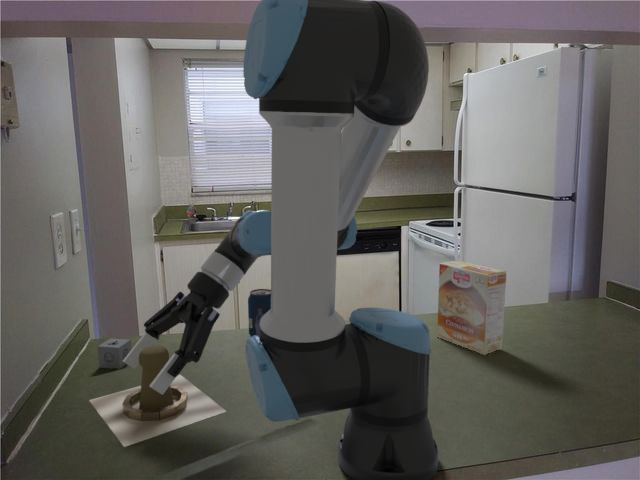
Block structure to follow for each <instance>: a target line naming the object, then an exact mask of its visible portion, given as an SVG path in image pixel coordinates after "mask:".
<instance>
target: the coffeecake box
mask: <svg viewBox="0 0 640 480" xmlns="http://www.w3.org/2000/svg"><path fill="white" fill-rule="evenodd" d="M438 277H439V278H438V301H437V303H438V304H437V327H436V328H437V331H436V338H437V337H439V338H438V339H440V338H442V339H444V340H443V341H445V340H447V341H450V342H452V343H451V344H453V343H455V344H457V345H456V346H458V345H460V346H462V347H461V348H463V347H465V348H468V349H470V350H473V351H476V352H479V353H481V354H486V353H489V352H493V351H496V350H499V349H502V350H503V340H504V337H503V336H504V324H505V323H504V320H505V319H504V318H505V306H506V305H505V303H506V301H505V300H506V287H507V270H503V269H497V268H493V267H490V266H485V265H484V266H483V265H480V264H475V263H471V262H467V261H462V260H459V259H458V260H453V261H443V262H440V263H439V275H438ZM442 339H441V340H442ZM447 341H446V342H447ZM450 342H449V343H450ZM455 344H454V345H455ZM460 346H459V347H460ZM465 348H464V349H465ZM468 349H467V350H468ZM470 350H469V351H470ZM473 351H472V352H473ZM476 352H475V353H476ZM493 353H494V352H493ZM481 354H480V355H481Z"/></svg>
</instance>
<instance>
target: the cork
mask: <svg viewBox="0 0 640 480" xmlns="http://www.w3.org/2000/svg"><path fill="white" fill-rule="evenodd" d="M169 355H170V353H169V350H168V349H167V347H165V346H162V345H153V346H150V347H146V348H144V349H143V350H142V351H141V352H140V354H139V365H140V367H141V368H142V370H141V371H142V372H141V382H140V386H141V393H140V405H139V409H140V410H158V409H162V408H165V407H168V406H171V405H173V404H174V402H173V397H172V392H171V386H169V387H168V389H167V390H166V391H165V393H164V394H163V395H162V394H160V393H159V392H157V391H156V390H154V389H152V388H151V387H150V384H151V383H152V382H153V380H154V379H155V378H156V376H157V375H158V374H159V372H160V371H161V370H162V368H163V367H164V366H165V365H166V363H167V362H168V361H169V359H170V356H169Z"/></svg>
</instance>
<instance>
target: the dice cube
mask: <svg viewBox="0 0 640 480" xmlns="http://www.w3.org/2000/svg"><path fill="white" fill-rule="evenodd" d="M131 350H132V341H131V339H124V338H108V339H107V340H106V341H104V342H101V344H99V345H98V346H97V354H98V355H97V356H98V367H100V368H101V369H113V368H117V369H116V370H121V369H123V368H124V367H125V366H126V365H127V364H126V363H125V362H123V360H124V358H125V357H126V356H127V355H128V353H129V352H130V351H131Z"/></svg>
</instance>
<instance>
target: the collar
mask: <svg viewBox="0 0 640 480" xmlns="http://www.w3.org/2000/svg"><path fill="white" fill-rule="evenodd" d="M170 386H171V392H172V395H174V396H177V397H179V398H180V400H179V401H177V402H176V403H174V404H173V405H171V406H168V407H165V408H162V409H158V410H140V409H135V408H133V407H132V406H131V405H132V404H133V403H135V402H136V401H138V400H140V393H141V389H138V390H136V391H134V392H132V393H131V394H129V395H128V396H126V397H125V400H124V402H123V404H122V405H123V413H124V414H125V415H126V416H127V417H128V418H129V419H133V420H137V421H156V420H162V419H165V418H168V417H171V416H174V415H177V414H178V413H179V412H181V411H182V410H183V409H185V408H186V406H187V402H188V392H187V391H186V390H184V389H183V388H182V387H180V386H175V385H170Z"/></svg>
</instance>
